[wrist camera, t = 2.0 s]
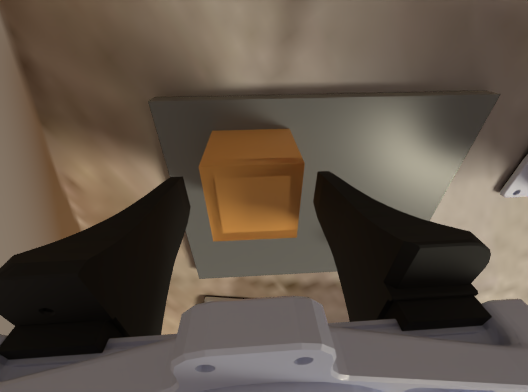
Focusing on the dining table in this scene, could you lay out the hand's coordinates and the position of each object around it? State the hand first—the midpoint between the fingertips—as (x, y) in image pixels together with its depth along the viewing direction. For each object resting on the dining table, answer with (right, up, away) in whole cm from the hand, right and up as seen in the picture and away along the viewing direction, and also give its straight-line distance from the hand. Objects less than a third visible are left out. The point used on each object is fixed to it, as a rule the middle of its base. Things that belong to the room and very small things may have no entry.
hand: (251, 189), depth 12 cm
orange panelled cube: (0, +2, +2) cm, 3 cm away
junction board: (+4, -1, +6) cm, 7 cm away
